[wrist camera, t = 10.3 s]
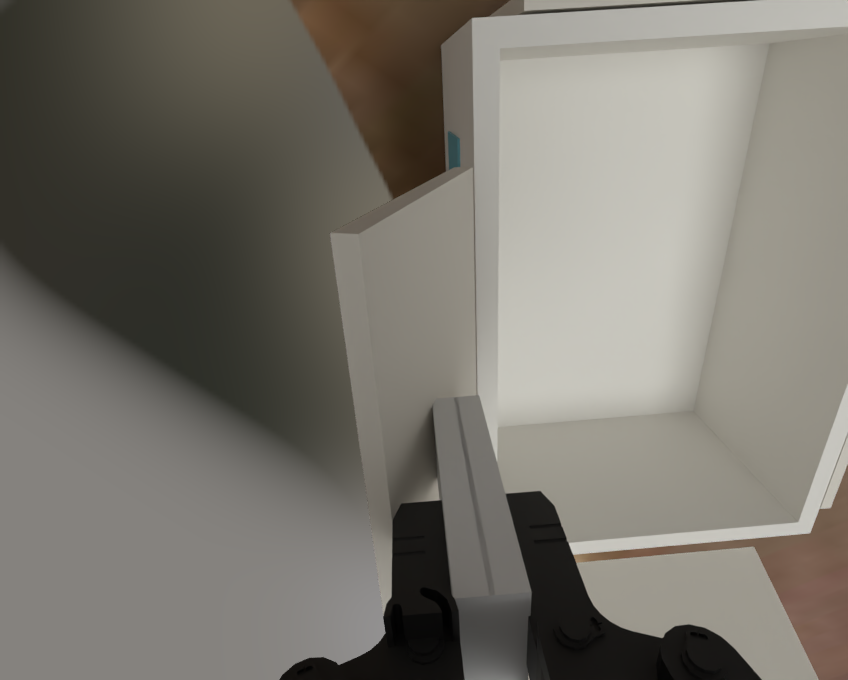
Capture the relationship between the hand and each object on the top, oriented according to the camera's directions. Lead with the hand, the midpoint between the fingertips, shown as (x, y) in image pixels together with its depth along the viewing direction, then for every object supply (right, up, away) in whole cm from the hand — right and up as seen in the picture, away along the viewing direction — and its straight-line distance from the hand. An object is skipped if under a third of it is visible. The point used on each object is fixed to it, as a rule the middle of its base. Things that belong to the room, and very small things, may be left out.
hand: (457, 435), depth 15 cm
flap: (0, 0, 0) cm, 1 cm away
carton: (+8, +7, +13) cm, 17 cm away
